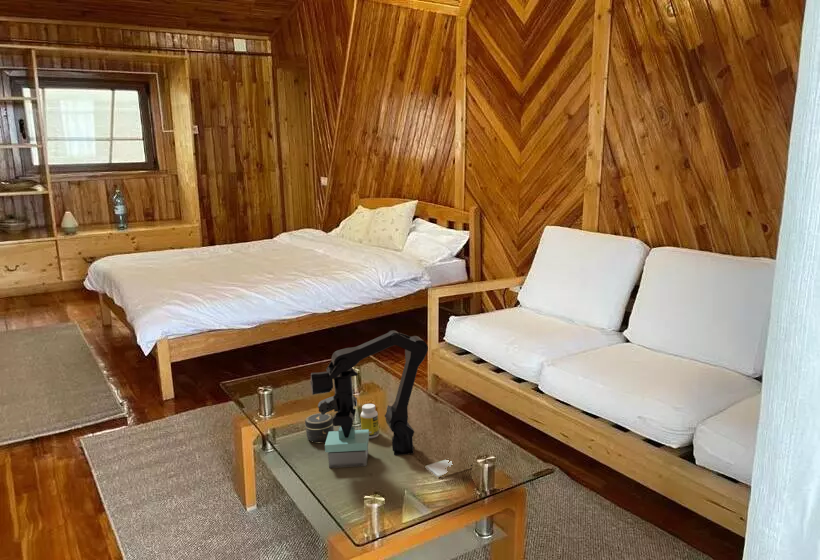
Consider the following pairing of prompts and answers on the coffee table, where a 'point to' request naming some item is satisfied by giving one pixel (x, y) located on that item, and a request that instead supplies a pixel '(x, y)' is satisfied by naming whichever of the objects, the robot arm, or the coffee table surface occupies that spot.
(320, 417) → the jar
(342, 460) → the storage box
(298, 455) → the coffee table surface
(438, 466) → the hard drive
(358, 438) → the lid
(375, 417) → the pill bottle
